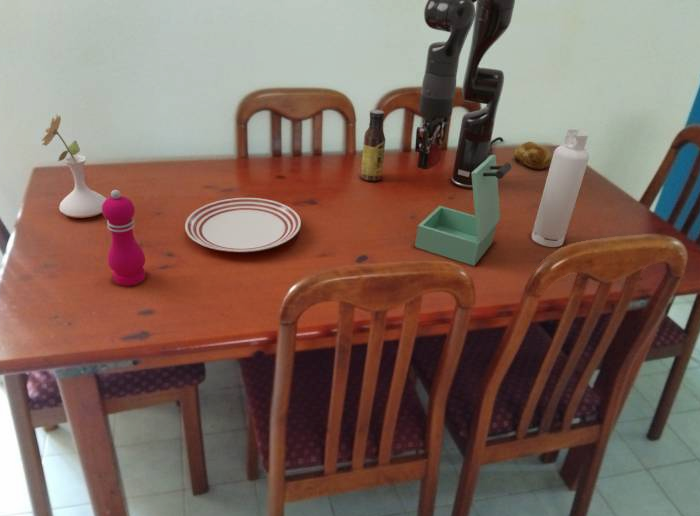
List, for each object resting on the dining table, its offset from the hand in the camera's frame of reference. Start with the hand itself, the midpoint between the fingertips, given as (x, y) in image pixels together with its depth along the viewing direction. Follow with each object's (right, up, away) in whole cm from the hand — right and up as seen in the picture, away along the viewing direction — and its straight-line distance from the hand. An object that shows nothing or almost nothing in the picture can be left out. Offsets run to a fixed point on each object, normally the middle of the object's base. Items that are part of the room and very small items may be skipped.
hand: (427, 163), depth 145 cm
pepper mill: (-65, -28, -18) cm, 73 cm away
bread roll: (+41, +12, +55) cm, 69 cm away
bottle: (+32, -17, +10) cm, 38 cm away
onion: (0, -1, +1) cm, 2 cm away
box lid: (+12, -9, -6) cm, 16 cm away
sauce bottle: (-13, +4, +35) cm, 38 cm away
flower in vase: (-85, -11, +4) cm, 86 cm away
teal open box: (+7, -19, +4) cm, 21 cm away
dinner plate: (-45, -17, +2) cm, 48 cm away
